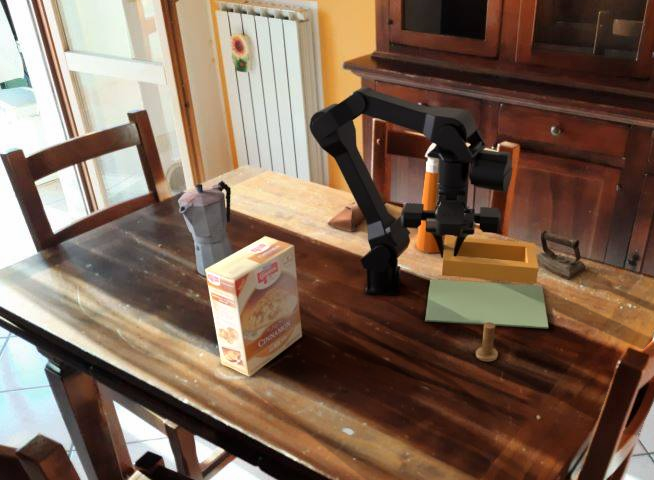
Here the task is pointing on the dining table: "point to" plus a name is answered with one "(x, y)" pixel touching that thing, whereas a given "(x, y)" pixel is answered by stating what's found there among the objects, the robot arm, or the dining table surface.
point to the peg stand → (487, 344)
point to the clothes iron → (557, 262)
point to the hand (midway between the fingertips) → (448, 257)
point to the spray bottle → (429, 204)
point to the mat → (486, 304)
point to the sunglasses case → (349, 217)
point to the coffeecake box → (255, 304)
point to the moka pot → (208, 223)
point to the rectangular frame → (488, 267)
